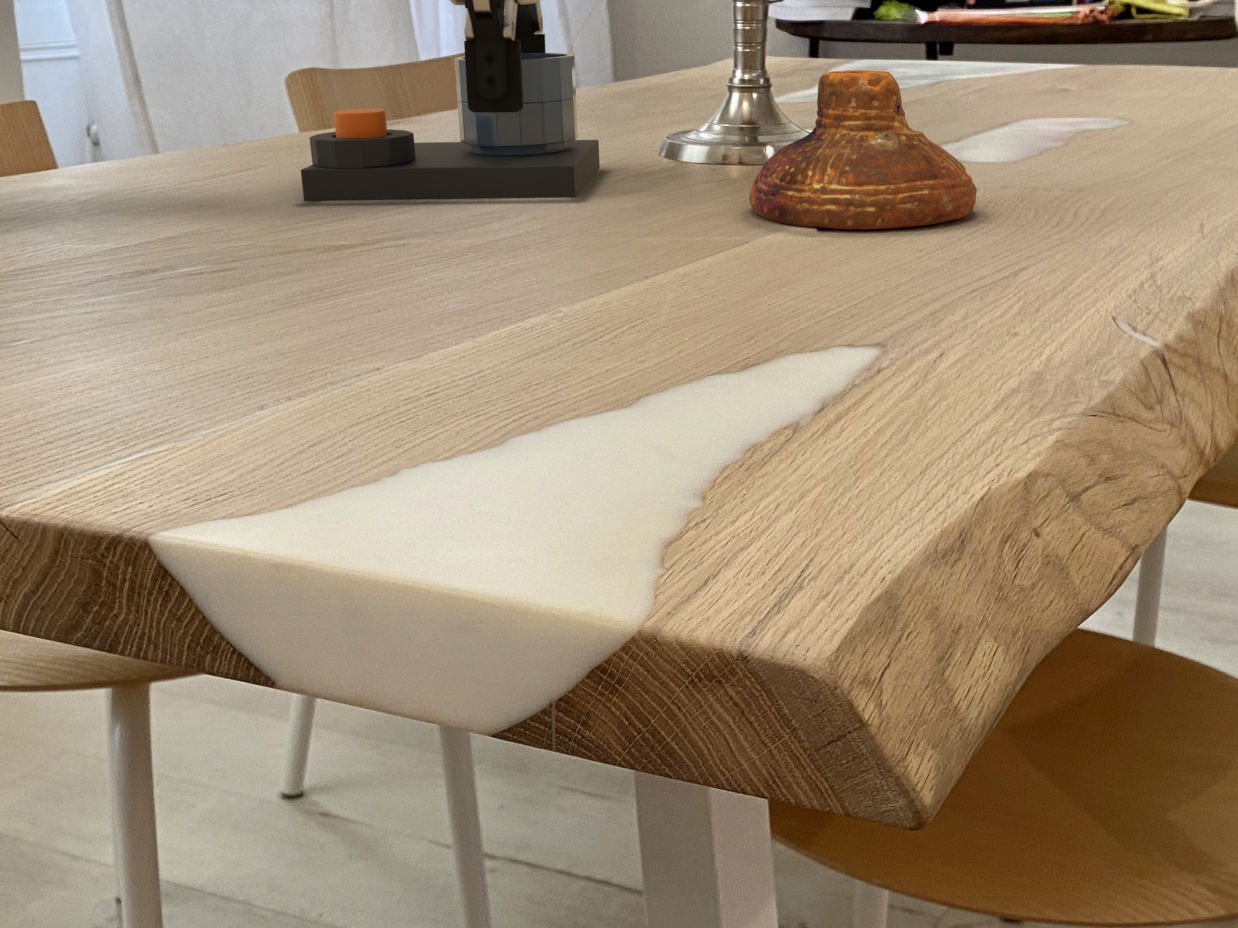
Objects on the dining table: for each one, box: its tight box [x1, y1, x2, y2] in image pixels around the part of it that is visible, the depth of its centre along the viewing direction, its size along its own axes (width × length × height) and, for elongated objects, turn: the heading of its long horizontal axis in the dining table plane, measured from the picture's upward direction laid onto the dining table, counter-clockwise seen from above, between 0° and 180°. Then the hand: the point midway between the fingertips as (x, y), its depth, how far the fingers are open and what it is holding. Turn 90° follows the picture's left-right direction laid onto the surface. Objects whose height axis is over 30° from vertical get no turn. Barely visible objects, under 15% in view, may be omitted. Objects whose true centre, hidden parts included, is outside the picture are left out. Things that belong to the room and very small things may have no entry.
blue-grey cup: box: [453, 52, 579, 156], centre depth 90 cm, size 7×7×6 cm
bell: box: [748, 69, 978, 230], centre depth 75 cm, size 12×12×7 cm
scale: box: [300, 128, 601, 202], centre depth 89 cm, size 16×13×4 cm
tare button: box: [333, 107, 388, 138], centre depth 86 cm, size 3×3×2 cm
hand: (509, 105), depth 89 cm, fingers open, 9 cm apart
